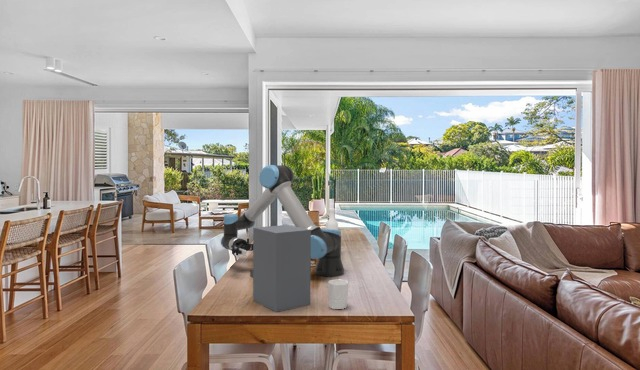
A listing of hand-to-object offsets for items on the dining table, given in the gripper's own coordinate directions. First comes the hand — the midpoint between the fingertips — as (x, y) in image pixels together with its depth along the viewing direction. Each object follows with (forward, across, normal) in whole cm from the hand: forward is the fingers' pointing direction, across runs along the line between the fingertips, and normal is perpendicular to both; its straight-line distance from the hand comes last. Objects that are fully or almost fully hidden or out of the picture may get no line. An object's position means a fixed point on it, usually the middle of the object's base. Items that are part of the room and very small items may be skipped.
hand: (258, 251), depth 210 cm
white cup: (+57, -4, -13) cm, 59 cm away
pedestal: (+39, +11, -13) cm, 43 cm away
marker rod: (+7, -1, -13) cm, 15 cm away
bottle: (-22, -65, -13) cm, 70 cm away
